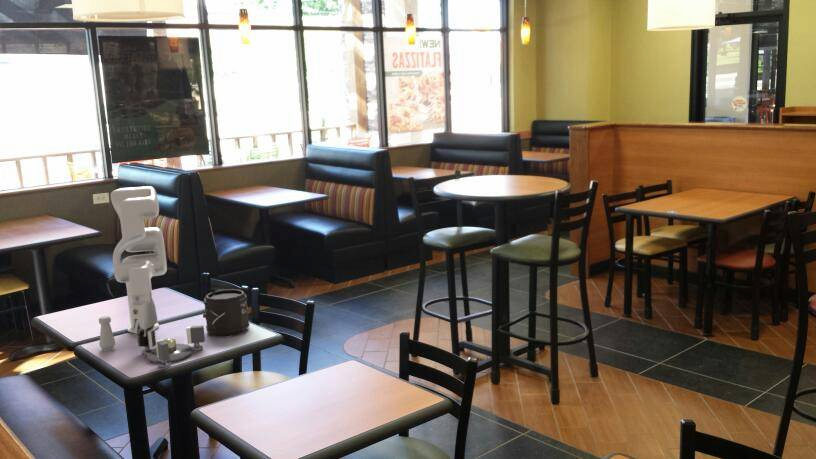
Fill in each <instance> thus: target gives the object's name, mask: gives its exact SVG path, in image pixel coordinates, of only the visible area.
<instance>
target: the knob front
mask: <svg viewBox="0 0 816 459" xmlns="http://www.w3.org/2000/svg"><path fill="white" fill-rule="evenodd" d="M164 340H165V339H163V338H162V339H156V345H155V348H157V357H158V358H160V359H161V363H162V364H164V363H167V360H170V358H169V348H168V343H167V342H165V341H164Z"/></svg>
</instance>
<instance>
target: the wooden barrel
mask: <svg viewBox="0 0 816 459" xmlns="http://www.w3.org/2000/svg"><path fill="white" fill-rule="evenodd" d="M247 300H248V297H247V294H246V293H245V292H244V290H242V289H235V288H230V289H228V288H227V289H220V290H215V291H213V292H211V291H210V293H206V295H205V297H204V298H203V304H204V313H202V318H203V319H205V322H206V325H205V329H206V332H207V333H208V334H209V336H212V337H216V338H226V337H227V338H229V337H234V336H238V335H242V334H244V333H245V332H247V331H248V328H249V327H250V324H251V323H250V322H249V308H248V307H249V306H248V303H247Z"/></svg>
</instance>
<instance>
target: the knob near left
mask: <svg viewBox="0 0 816 459" xmlns="http://www.w3.org/2000/svg"><path fill="white" fill-rule="evenodd" d="M204 326H205V325H204V324H203V325H192V326H191V325H190V326H189V325H188V326H187V327H186V328H185V330H186V338H187V345H189V344H193V346H194V347H199V345H200V343H201V344H202V343H205V341H206V340H205V339H206V338H205V328H204Z"/></svg>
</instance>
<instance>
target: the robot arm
mask: <svg viewBox="0 0 816 459" xmlns="http://www.w3.org/2000/svg"><path fill="white" fill-rule="evenodd" d="M110 200H111V203H112V206H113V209H114V210H115V212H116V213H117V215H118V217H119V218H118V219H119V220H120V226H121V227H120V228H121V236H122V238H121V239H120V241H119V242H117V244H116V246H115V248H114V249H113V254H112V264H113V274H114V278H115V280H116V281H117V282H118V283H125V286H126V294H127V295H126V296H127V302H128V311H129V312H128V313H129V319H130V325H129V326H128V327H127V332H128V333H132V334H135V335H137V334H138V337H139V339H140V346H143V347H142V348H145V347H148V346H149V345H148V336H146V330H155V331H156V330H157V329H159V327H160V324H159V323H158V315H157V309H156V304H155V300H154V298H153V291H152V281H151V280H152V278H153V277H158V276H163V275H165V274H166V273H167V270H168V267H167V266H168V265H167V263H168V262H167V257H166V256H167V255H166V254H167V253H166V246H165V240H164V235H163V232H162V229H161V228H160V227H157V226H156V227H155V226H154V227H153V226H151V227H146V226H145V225H146V224H145V219H152V218H153V219H154V218H157V217H158V216H159V213H160V204H159V199H158V194H157V191H156V189H155V188H154V187H153V186H150V185H149V186H147V185H146V186H132V187H124V188H117V189H114V190H112V192H110ZM124 251H126V252H128V253H138V252H147V251H149V252H150V251H153V253H142V254H135V255H129V256H126V257H125V258H123V260H122V262H121V256H122V255H123V254H122V253H124ZM141 330H143V332H142V331H141Z"/></svg>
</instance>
